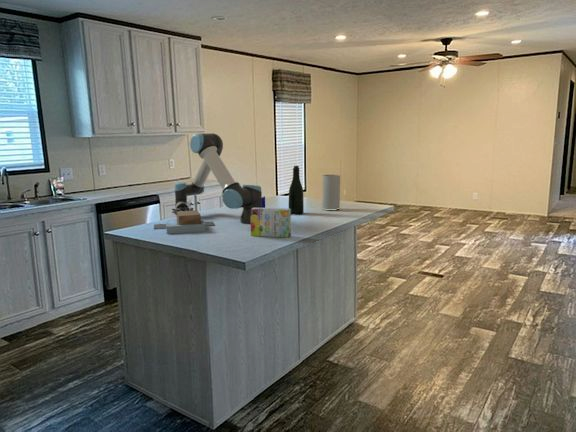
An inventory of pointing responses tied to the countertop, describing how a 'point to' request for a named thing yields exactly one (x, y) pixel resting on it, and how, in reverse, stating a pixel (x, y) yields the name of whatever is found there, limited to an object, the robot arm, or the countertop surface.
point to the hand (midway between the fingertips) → (184, 214)
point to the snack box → (271, 222)
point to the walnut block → (188, 217)
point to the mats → (163, 226)
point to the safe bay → (185, 228)
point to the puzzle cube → (263, 201)
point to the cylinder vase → (331, 192)
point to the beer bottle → (296, 193)
